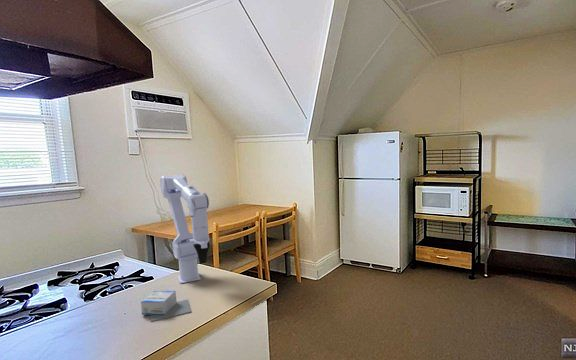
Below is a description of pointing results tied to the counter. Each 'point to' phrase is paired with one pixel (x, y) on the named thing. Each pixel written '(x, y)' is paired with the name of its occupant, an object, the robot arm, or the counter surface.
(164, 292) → the medicine box
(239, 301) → the counter surface
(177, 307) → the slate mat
